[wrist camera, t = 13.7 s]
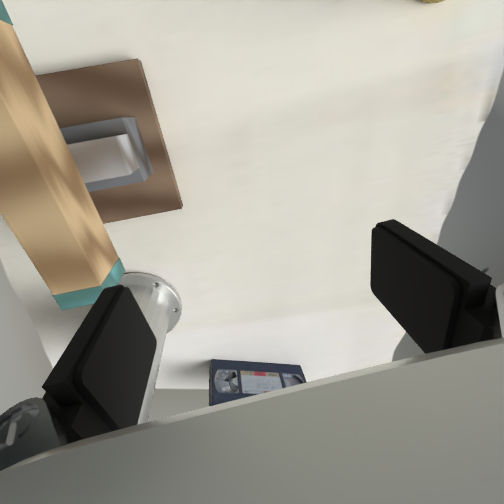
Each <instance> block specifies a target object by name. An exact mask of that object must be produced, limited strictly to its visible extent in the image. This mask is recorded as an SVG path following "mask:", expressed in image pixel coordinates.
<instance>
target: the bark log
mask: <svg viewBox="0 0 504 504" xmlns="http://www.w3.org/2000/svg"><path fill="white" fill-rule="evenodd" d="M423 1H424V2H427V3H438V2H441V1H444V0H423Z"/></svg>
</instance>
